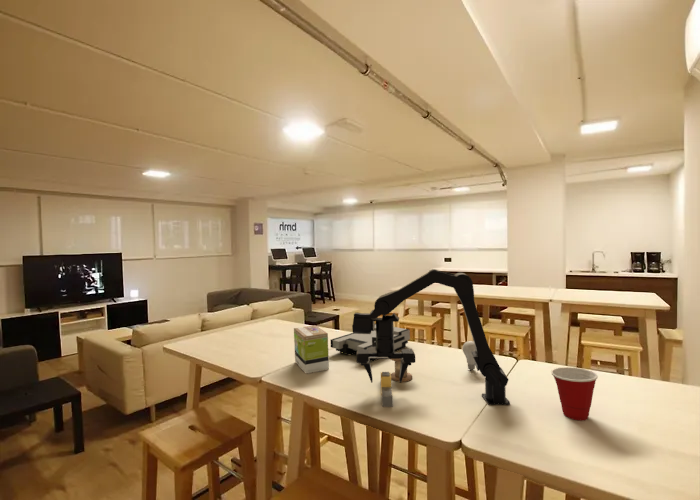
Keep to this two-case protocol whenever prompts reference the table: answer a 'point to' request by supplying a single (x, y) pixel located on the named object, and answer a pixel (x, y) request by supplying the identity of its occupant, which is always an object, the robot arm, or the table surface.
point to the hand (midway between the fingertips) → (386, 382)
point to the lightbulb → (469, 353)
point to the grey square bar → (387, 397)
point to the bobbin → (397, 372)
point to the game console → (368, 341)
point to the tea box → (311, 349)
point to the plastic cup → (575, 391)
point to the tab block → (385, 380)
